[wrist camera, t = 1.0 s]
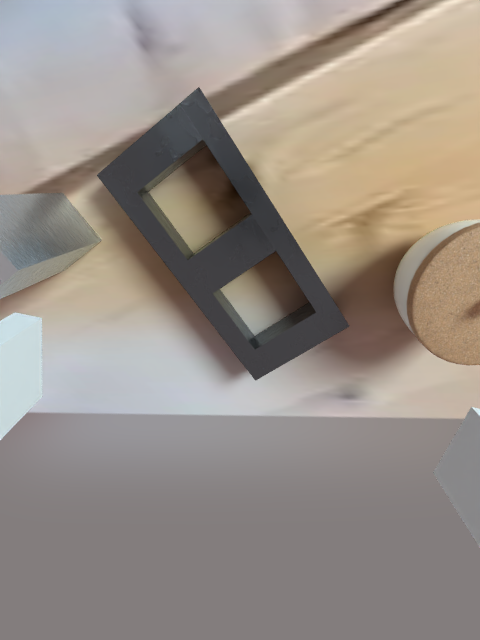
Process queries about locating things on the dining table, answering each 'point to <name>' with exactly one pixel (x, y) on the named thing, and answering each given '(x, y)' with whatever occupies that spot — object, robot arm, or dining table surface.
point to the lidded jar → (443, 291)
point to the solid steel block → (39, 238)
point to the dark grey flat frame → (221, 237)
